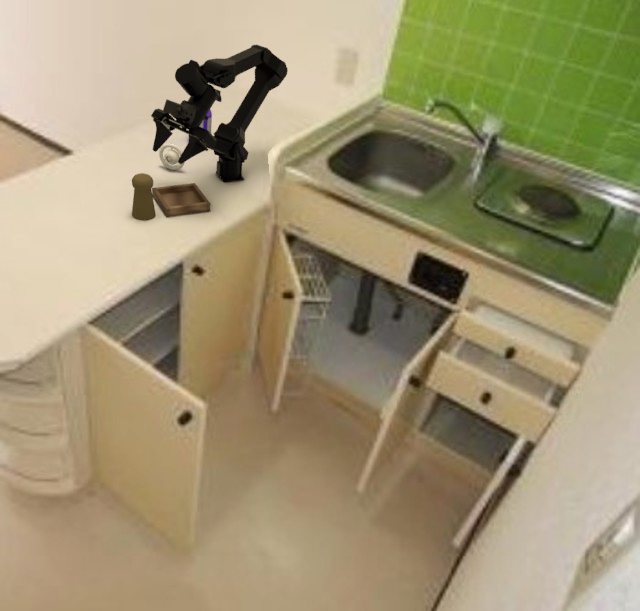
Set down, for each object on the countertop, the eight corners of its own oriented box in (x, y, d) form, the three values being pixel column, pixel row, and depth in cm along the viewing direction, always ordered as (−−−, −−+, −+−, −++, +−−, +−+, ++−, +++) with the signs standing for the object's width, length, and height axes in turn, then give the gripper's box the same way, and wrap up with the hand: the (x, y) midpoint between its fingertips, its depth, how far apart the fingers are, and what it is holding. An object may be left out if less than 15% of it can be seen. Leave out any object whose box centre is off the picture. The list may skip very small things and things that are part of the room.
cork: (150, 222, 163) (148, 183, 156) (127, 217, 164) (125, 178, 157) (159, 211, 168) (158, 173, 161) (137, 207, 168) (136, 168, 162)
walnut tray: (194, 191, 179) (194, 183, 178) (210, 211, 171) (210, 203, 170) (152, 196, 174) (152, 188, 172) (166, 217, 166) (166, 209, 164)
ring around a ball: (156, 168, 187) (156, 143, 183) (165, 161, 192) (165, 136, 187) (181, 175, 186) (181, 149, 181) (190, 168, 191) (190, 142, 186)
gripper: (155, 76, 161) (122, 128, 160) (209, 99, 153) (175, 154, 152) (178, 101, 171) (148, 150, 170) (230, 123, 163) (198, 175, 162)
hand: (166, 156), depth 163 cm, fingers open, 9 cm apart
